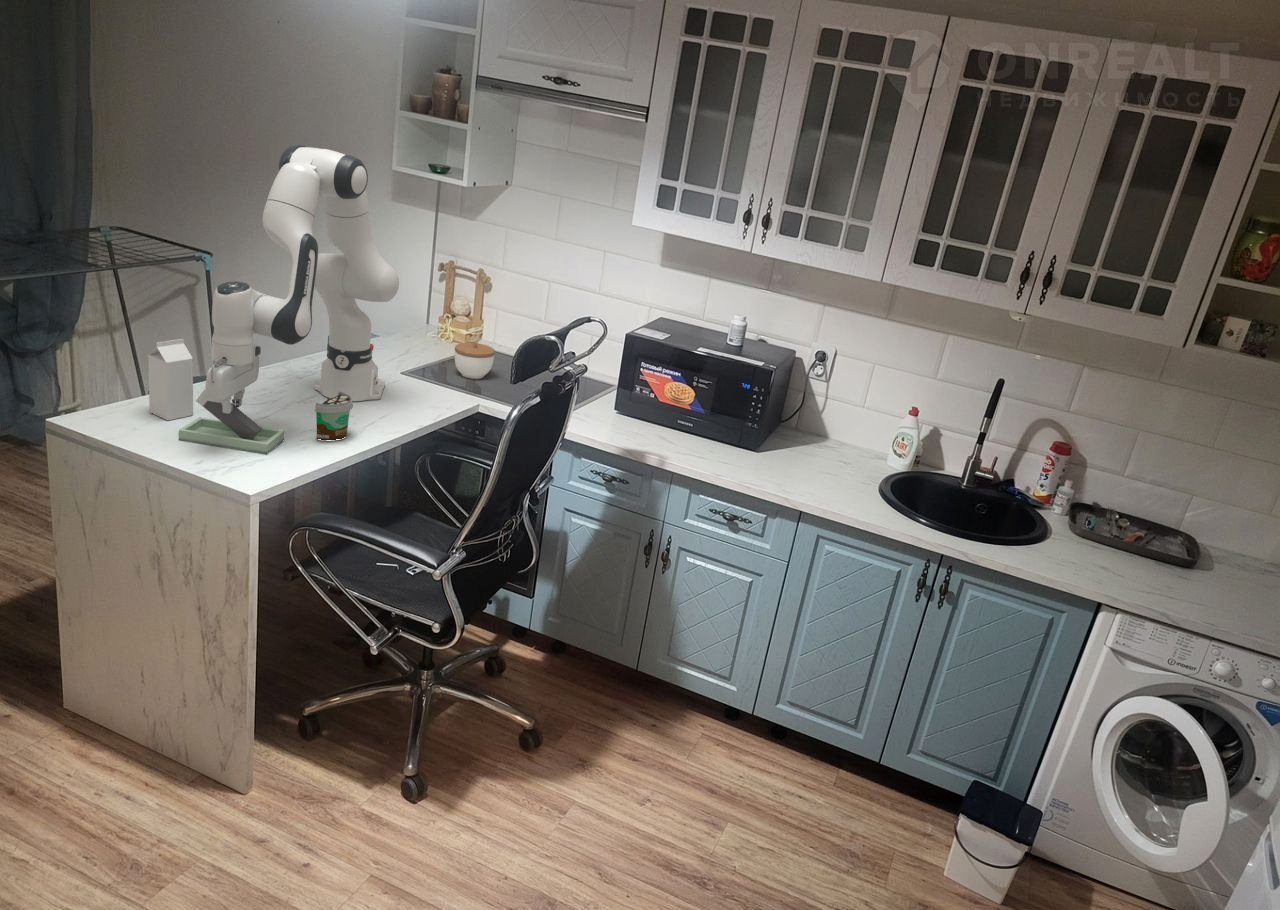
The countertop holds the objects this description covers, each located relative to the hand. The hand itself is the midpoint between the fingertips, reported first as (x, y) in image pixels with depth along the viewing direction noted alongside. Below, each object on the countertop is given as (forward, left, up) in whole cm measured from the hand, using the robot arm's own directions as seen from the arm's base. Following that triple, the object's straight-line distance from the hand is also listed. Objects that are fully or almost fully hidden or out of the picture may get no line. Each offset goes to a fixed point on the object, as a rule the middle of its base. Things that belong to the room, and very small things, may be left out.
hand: (232, 409), depth 226 cm
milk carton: (-10, -20, -8) cm, 24 cm away
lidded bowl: (-83, +40, -8) cm, 93 cm away
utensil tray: (0, 0, -8) cm, 8 cm away
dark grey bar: (0, -2, -3) cm, 3 cm away
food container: (-13, +21, -8) cm, 26 cm away
